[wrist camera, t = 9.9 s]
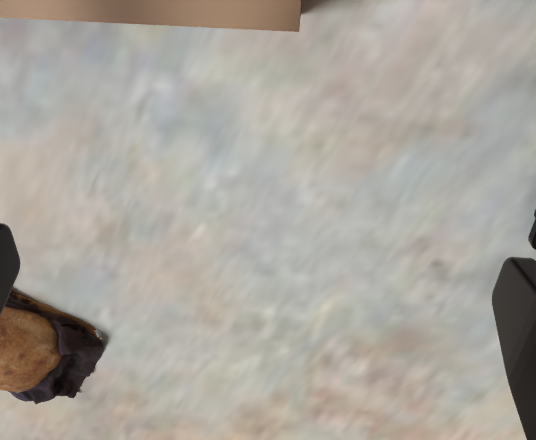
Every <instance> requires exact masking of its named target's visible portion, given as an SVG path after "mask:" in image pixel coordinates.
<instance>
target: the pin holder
mask: <svg viewBox="0 0 536 440" xmlns="http://www.w3.org/2000/svg"><path fill="white" fill-rule="evenodd" d="M300 16H301V0H0V17H3V18H24V19H45V20H65V21H86V22H107V23H128V24H149V25H169V26H190V27H211V28H232V29H253V30H273V31H294V32H299V27H300Z"/></svg>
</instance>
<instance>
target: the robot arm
mask: <svg viewBox="0 0 536 440" xmlns="http://www.w3.org/2000/svg"><path fill="white" fill-rule="evenodd" d="M534 216H535V218H536V211H535V213H534ZM528 240H529V242H530V244H531V246H532V247H533V248H534V249H535V250H536V219H535V222H534V224H533V227H532V229H531V232H530V234H529V238H528ZM19 269H20V258H19V254H18V251H17V248H16V245H15V242H14V238H13V235H12V232H11V230H10V228H9V227H8V226H7V225H5V224H2V223H0V315H1V313H2V311H3V308H4V306H5V304H6V301H7V299H8V297H9V294H10V292H11V289H12V287H13V285H14V282H15V280H16V278H17V275H18V273H19ZM492 306H493V311H494V316H495V321H496V326H497V331H498V336H499V341H500V346H501V351H502V356H503V361H504V366H505V370H506V375H507V379H508V383H509V386H510V389H511V393H512V396H513V399H514V402H515V405H516V408H517V411H518V414H519V417H520V420H521V423H522V426H523V429H524V432H525V435H526V438H527V440H536V261H535V260H534V259H531V258H519V257H510V258H508V259H506V260H505V262H504V264H503V266H502V269H501V271H500V274H499V277H498V279H497V282H496V285H495V287H494V290H493V294H492Z"/></svg>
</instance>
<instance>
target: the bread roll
mask: <svg viewBox="0 0 536 440" xmlns="http://www.w3.org/2000/svg"><path fill="white" fill-rule="evenodd" d="M94 330H96V329H95V328H94V327H93V326H91V325H88V324H86V323H84V322H83V321H81V320H79V319H76V318H74V317H72V316H70V315H67V314H66V313H63V312H61V311H58V310H56V309H54V308H52V307H50V306H48V305H45V304H42V303H39V302H37V301H34V300H32V299H29V298H26V297H25V296H22V295H19V294H13V293H12V290H11V292H10V294H9V297H8V299H7V301H6V304H5V306H4V308H3V311H2V313H1V315H0V390H5V391H8V392H10V393H11V394H12V395H13V396H14V397H16V398H18V399H20V400H23V401H34V402H35V404H38V403H40V402H45V401H49V400H51V399H53V398H55V396H68V397H69V398H74V397H75V396H76V393H77V391H78V390H79V389H80V387H81V385H82V383H83V380H84V379H85V378H86V376H87V377H88V376H90V373H91V372H92V370H93V368H94V366H95V364H96V363H97V361H98V360H99V358H100V357H101V355H102V351H103V346H102V345H101V342H100V340H99V339H100V337H97V335H96V333H95V331H94Z"/></svg>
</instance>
